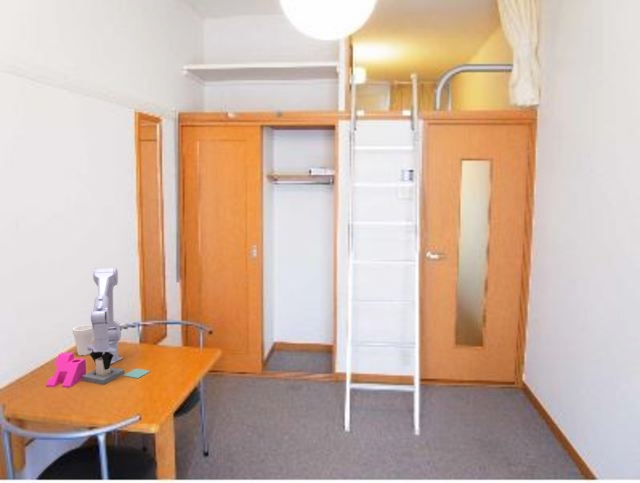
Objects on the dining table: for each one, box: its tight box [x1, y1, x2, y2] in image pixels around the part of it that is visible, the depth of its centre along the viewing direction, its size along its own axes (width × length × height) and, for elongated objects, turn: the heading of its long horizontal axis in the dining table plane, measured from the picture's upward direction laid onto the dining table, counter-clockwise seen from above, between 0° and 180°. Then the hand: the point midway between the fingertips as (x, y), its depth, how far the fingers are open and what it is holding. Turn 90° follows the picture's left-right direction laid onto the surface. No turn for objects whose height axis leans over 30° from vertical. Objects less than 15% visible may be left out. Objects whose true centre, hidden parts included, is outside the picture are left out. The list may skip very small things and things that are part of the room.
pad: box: [122, 368, 152, 380], centre depth 210 cm, size 8×8×1 cm
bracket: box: [45, 352, 87, 389], centre depth 202 cm, size 12×10×10 cm
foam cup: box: [72, 324, 94, 356], centre depth 235 cm, size 10×9×13 cm
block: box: [94, 357, 111, 376], centre depth 206 cm, size 4×4×7 cm
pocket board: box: [81, 366, 126, 385], centre depth 207 cm, size 12×12×2 cm
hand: (103, 368), depth 206 cm, fingers closed on block, 4 cm apart
